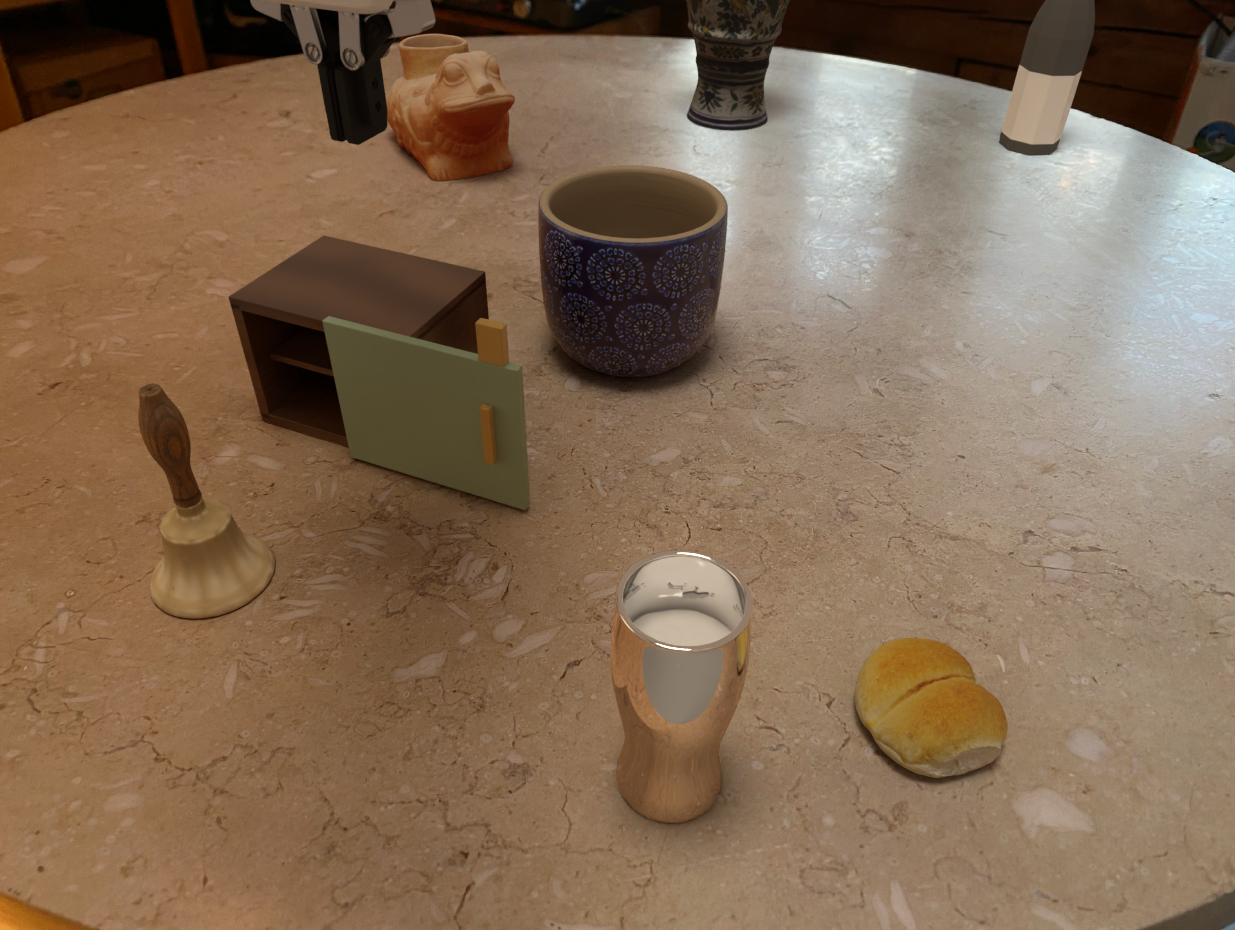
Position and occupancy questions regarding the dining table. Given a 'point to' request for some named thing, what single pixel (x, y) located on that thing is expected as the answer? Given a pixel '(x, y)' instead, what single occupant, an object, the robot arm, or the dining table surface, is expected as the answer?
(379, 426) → the sliding door
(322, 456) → the dining table surface
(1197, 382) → the dining table surface
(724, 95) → the vase
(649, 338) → the planter
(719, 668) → the beer glass
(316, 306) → the cupboard
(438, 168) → the ceramic vessel
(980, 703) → the bread roll
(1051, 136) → the wine bottle
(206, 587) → the hand bell
